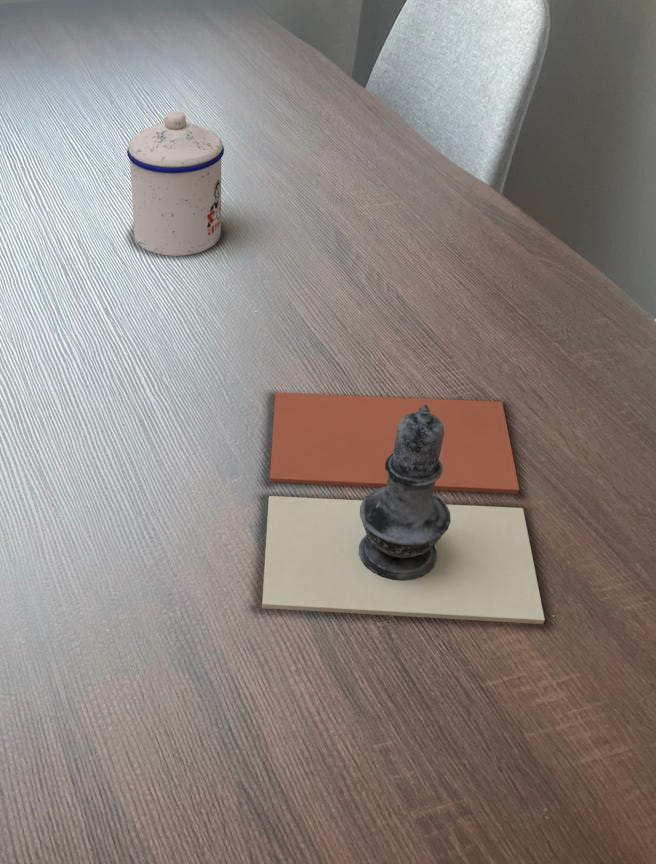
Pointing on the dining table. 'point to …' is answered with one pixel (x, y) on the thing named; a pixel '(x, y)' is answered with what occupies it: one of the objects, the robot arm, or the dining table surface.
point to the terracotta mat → (387, 441)
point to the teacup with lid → (176, 187)
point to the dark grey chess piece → (407, 504)
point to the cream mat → (423, 597)
